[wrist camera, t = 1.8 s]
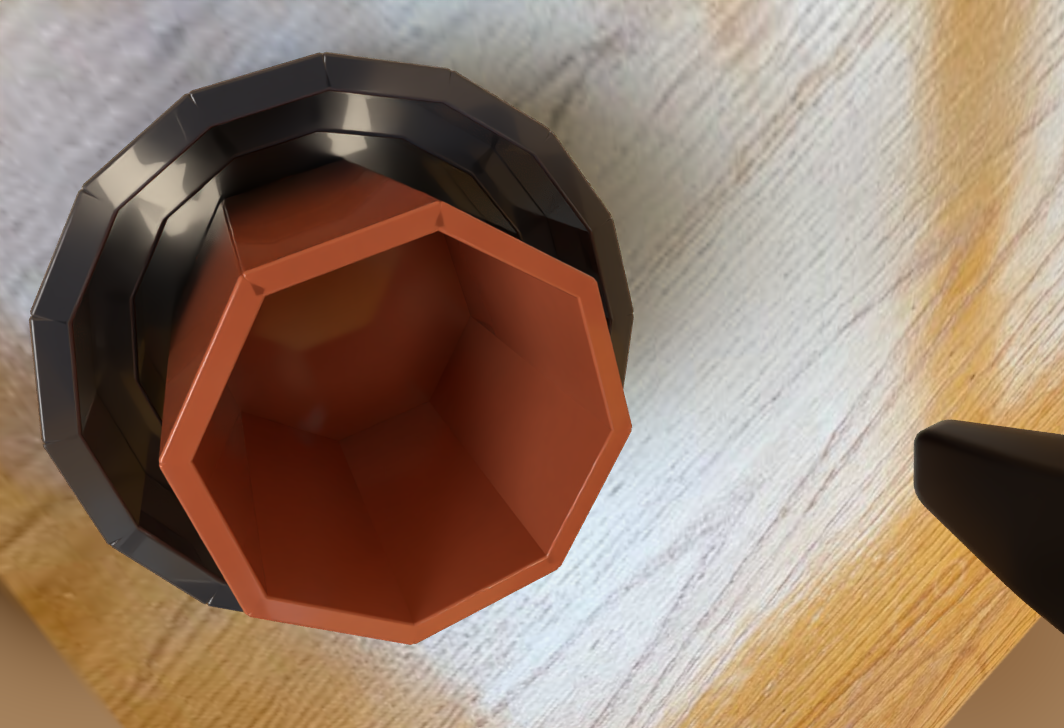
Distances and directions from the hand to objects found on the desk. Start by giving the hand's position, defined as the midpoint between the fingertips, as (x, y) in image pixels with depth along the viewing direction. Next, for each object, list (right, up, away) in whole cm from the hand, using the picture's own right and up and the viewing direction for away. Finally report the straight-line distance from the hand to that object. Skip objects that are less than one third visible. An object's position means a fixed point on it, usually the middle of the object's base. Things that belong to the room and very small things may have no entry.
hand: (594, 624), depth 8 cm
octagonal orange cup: (-5, +4, +10) cm, 12 cm away
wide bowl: (-6, +4, +11) cm, 13 cm away
